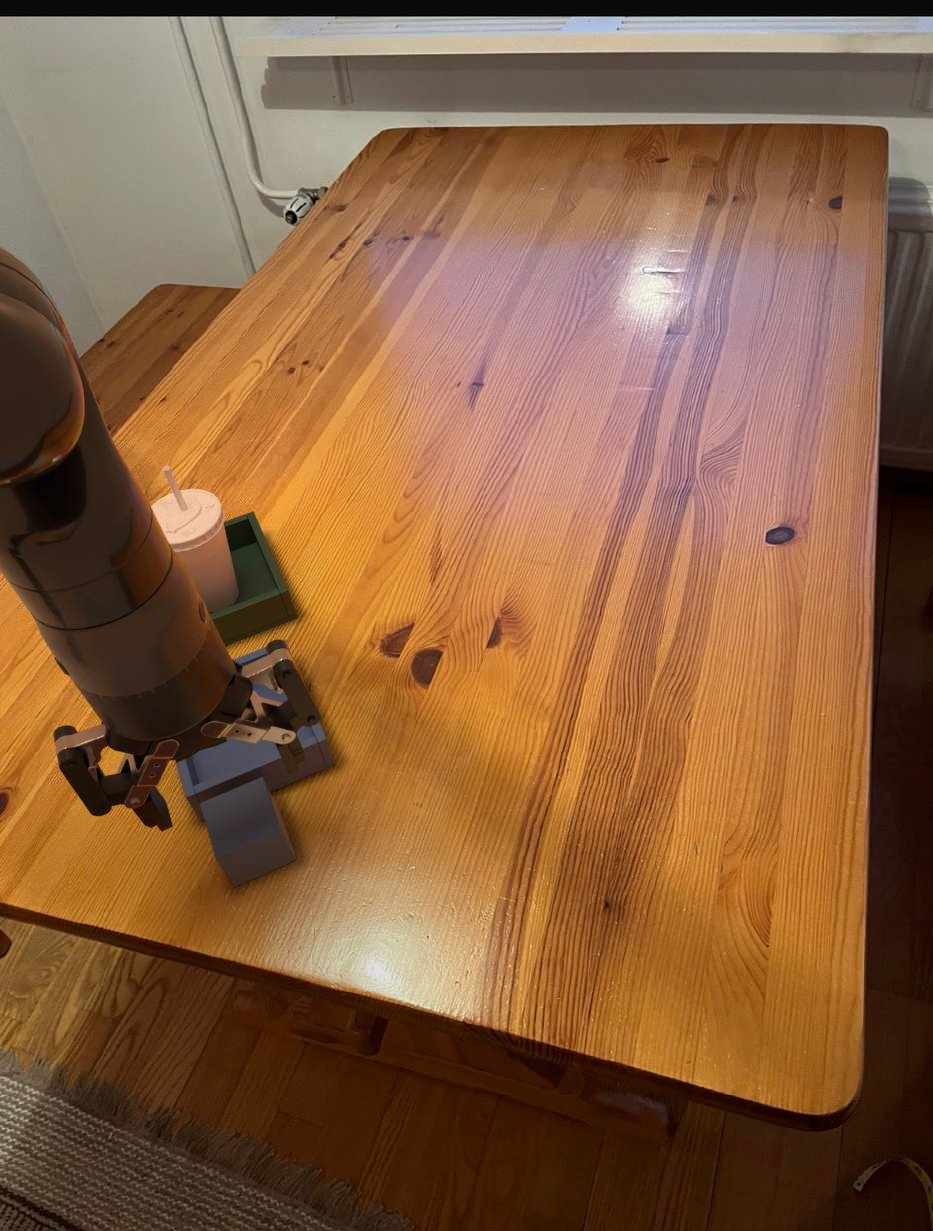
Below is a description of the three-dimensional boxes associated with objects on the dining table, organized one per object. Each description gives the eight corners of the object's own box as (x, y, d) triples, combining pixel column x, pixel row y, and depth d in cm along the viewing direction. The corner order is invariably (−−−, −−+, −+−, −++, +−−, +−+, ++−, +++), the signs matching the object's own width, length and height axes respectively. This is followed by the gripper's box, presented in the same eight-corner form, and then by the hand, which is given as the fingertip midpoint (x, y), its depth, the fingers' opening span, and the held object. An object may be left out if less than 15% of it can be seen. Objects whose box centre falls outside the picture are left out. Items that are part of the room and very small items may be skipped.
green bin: (173, 666, 77) (158, 639, 74) (147, 580, 83) (133, 553, 81) (298, 617, 79) (288, 590, 76) (263, 538, 86) (253, 510, 83)
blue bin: (201, 821, 67) (185, 797, 64) (171, 715, 73) (155, 689, 71) (336, 764, 69) (326, 738, 66) (295, 665, 75) (285, 638, 73)
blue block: (234, 887, 63) (215, 858, 60) (219, 833, 66) (199, 802, 63) (297, 860, 64) (281, 829, 61) (279, 808, 67) (262, 776, 64)
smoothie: (265, 573, 82) (218, 449, 71) (237, 628, 78) (183, 505, 67) (199, 565, 83) (143, 442, 73) (168, 619, 79) (105, 498, 69)
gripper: (247, 537, 51) (314, 704, 64) (-13, 635, 48) (110, 790, 61) (287, 630, 47) (351, 790, 59) (2, 744, 44) (131, 887, 56)
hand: (228, 790), depth 60 cm, fingers open, 8 cm apart
